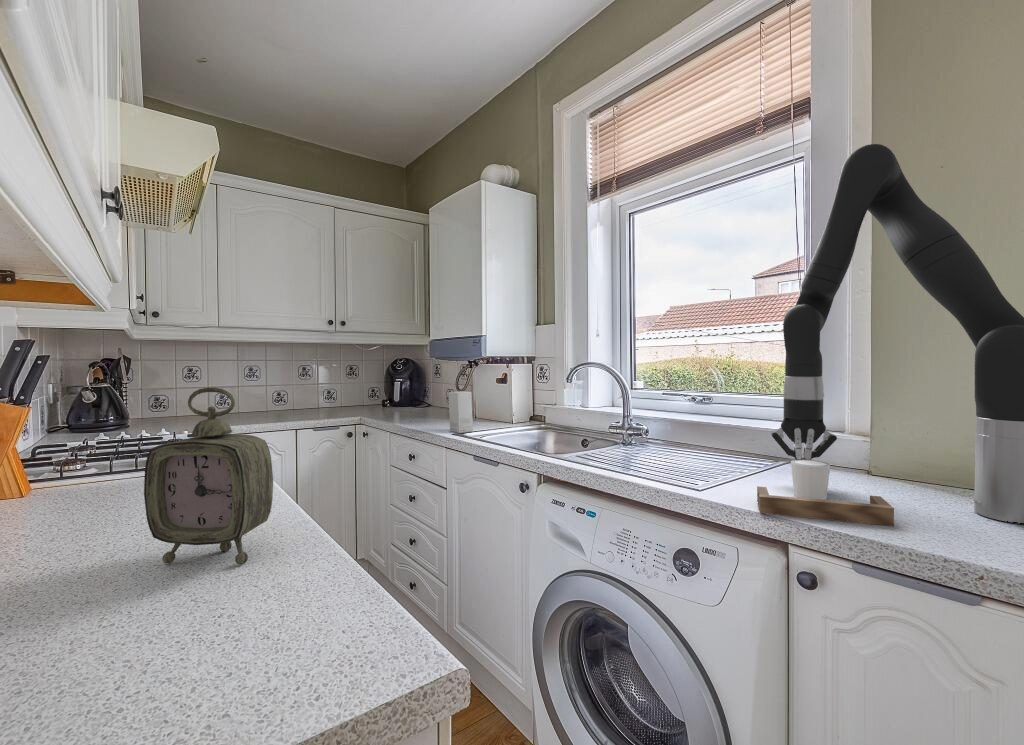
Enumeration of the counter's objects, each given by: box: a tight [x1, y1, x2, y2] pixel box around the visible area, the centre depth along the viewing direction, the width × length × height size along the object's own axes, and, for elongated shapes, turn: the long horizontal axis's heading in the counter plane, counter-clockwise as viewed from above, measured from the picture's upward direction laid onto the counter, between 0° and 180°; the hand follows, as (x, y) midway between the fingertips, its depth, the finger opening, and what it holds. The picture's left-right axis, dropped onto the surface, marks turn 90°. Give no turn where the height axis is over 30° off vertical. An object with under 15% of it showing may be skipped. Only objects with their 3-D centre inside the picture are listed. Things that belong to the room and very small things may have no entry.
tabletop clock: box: [143, 387, 274, 565], centre depth 73 cm, size 14×9×25 cm, turn 87°
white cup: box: [790, 459, 831, 500], centre depth 100 cm, size 7×7×7 cm
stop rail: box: [756, 485, 895, 527], centre depth 90 cm, size 20×8×3 cm, turn 67°
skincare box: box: [448, 390, 474, 434], centre depth 193 cm, size 8×7×16 cm
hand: (802, 475), depth 109 cm, fingers closed
